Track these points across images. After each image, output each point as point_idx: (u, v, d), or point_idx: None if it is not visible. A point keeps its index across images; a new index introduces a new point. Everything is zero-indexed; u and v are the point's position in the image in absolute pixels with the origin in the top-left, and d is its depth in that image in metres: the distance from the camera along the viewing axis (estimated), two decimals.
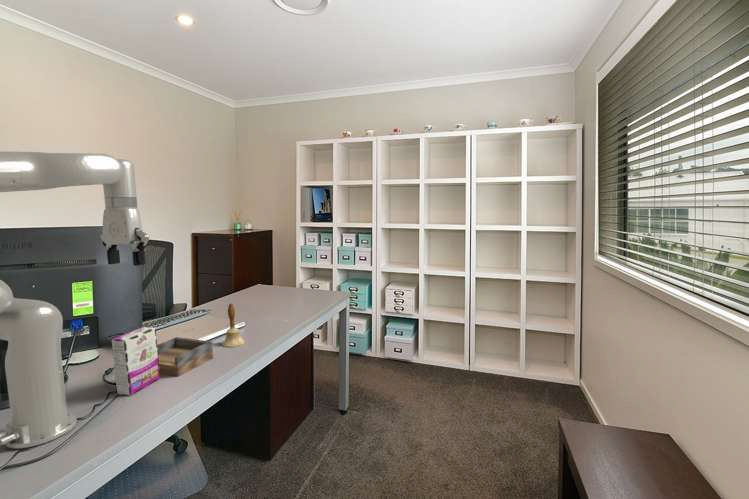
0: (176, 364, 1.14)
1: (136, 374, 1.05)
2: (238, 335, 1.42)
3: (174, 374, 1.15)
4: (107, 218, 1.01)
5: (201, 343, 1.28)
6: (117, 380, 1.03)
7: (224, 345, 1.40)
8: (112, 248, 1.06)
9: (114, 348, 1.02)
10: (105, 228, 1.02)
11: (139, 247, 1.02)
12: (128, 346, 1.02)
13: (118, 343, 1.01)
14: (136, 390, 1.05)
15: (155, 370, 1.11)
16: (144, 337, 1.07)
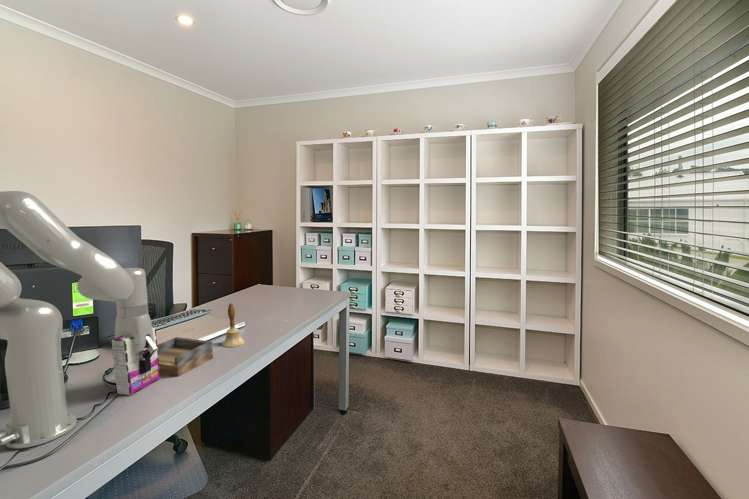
0: (176, 364, 1.14)
1: (136, 374, 1.05)
2: (238, 335, 1.42)
3: (174, 374, 1.15)
4: (119, 325, 1.04)
5: (201, 343, 1.28)
6: (117, 380, 1.03)
7: (224, 345, 1.40)
8: None
9: (114, 348, 1.02)
10: (117, 335, 1.05)
11: (145, 356, 1.05)
12: (128, 346, 1.02)
13: (118, 343, 1.01)
14: (136, 390, 1.05)
15: (155, 370, 1.11)
16: None
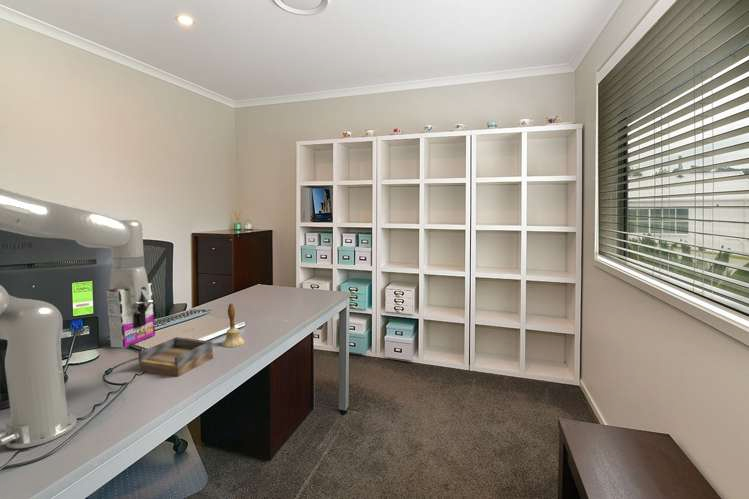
0: (176, 364, 1.14)
1: (131, 327, 1.03)
2: (238, 335, 1.42)
3: (174, 374, 1.15)
4: (114, 277, 1.03)
5: (201, 343, 1.28)
6: (111, 332, 1.01)
7: (224, 345, 1.40)
8: None
9: (108, 299, 1.00)
10: (112, 287, 1.03)
11: (140, 310, 1.03)
12: (123, 297, 1.00)
13: (113, 294, 1.00)
14: (130, 343, 1.03)
15: (150, 326, 1.09)
16: None
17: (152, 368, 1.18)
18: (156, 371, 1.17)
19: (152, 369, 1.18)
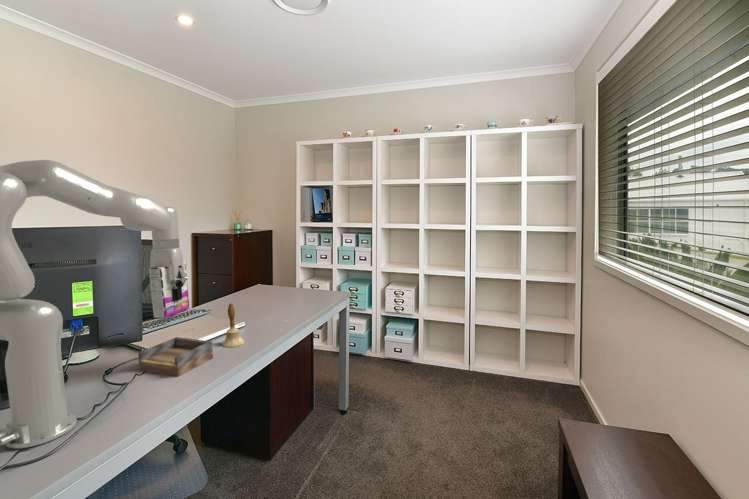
0: (176, 364, 1.14)
1: (170, 300, 1.17)
2: (238, 335, 1.42)
3: (174, 374, 1.15)
4: (154, 257, 1.17)
5: (201, 343, 1.28)
6: (153, 305, 1.16)
7: (224, 345, 1.40)
8: None
9: (150, 275, 1.14)
10: (152, 266, 1.18)
11: (178, 285, 1.18)
12: (163, 274, 1.15)
13: (155, 271, 1.14)
14: (170, 314, 1.17)
15: (185, 300, 1.24)
16: None
17: (152, 368, 1.18)
18: (156, 371, 1.17)
19: (152, 369, 1.18)
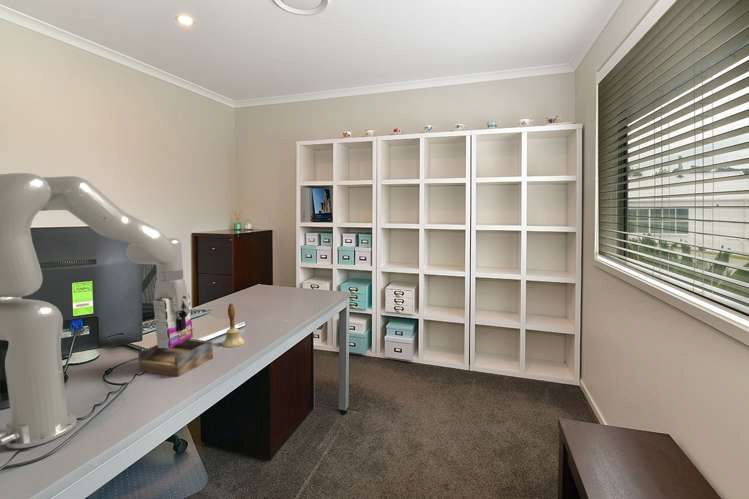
0: (176, 364, 1.14)
1: (174, 331, 1.19)
2: (238, 335, 1.42)
3: (174, 374, 1.15)
4: (159, 288, 1.19)
5: (201, 343, 1.28)
6: (158, 335, 1.18)
7: (224, 345, 1.40)
8: None
9: (155, 307, 1.16)
10: (157, 297, 1.20)
11: (182, 316, 1.20)
12: (167, 305, 1.16)
13: (159, 303, 1.16)
14: (174, 344, 1.19)
15: (188, 329, 1.26)
16: None
17: (152, 368, 1.18)
18: (156, 371, 1.17)
19: (152, 369, 1.18)
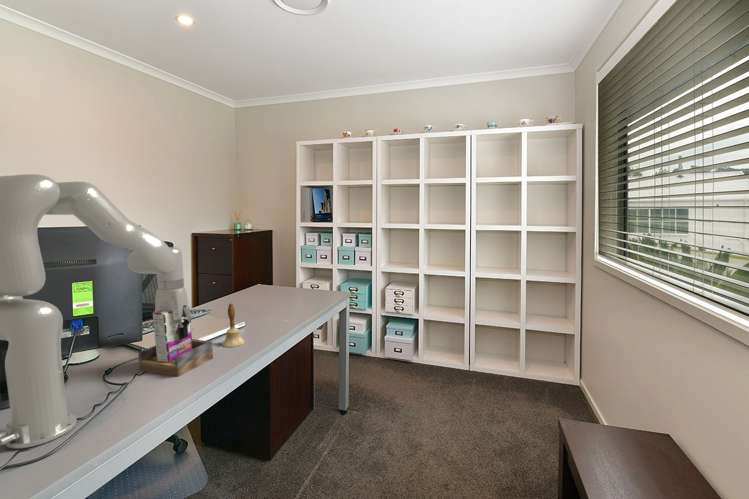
0: (176, 364, 1.14)
1: (173, 344, 1.19)
2: (238, 335, 1.42)
3: (174, 374, 1.15)
4: (159, 297, 1.19)
5: (201, 343, 1.28)
6: (157, 349, 1.18)
7: (224, 345, 1.40)
8: None
9: (154, 320, 1.17)
10: (157, 306, 1.20)
11: (184, 324, 1.20)
12: (167, 319, 1.17)
13: (158, 316, 1.16)
14: (173, 358, 1.19)
15: (188, 342, 1.26)
16: None
17: (152, 368, 1.18)
18: (156, 371, 1.17)
19: (152, 369, 1.18)
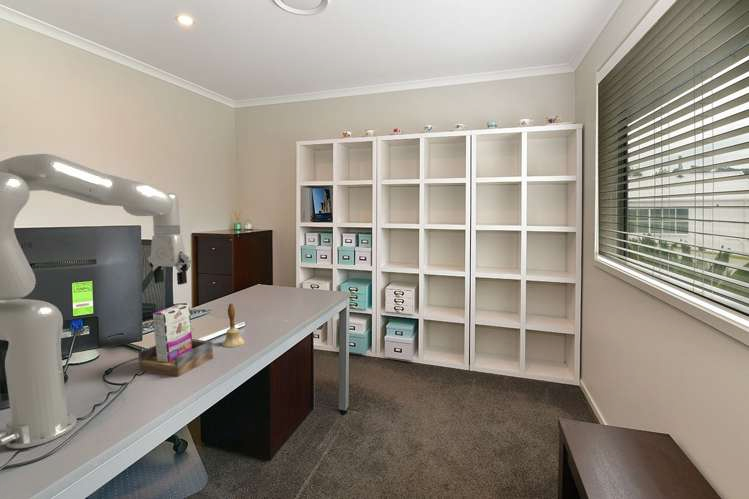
0: (176, 364, 1.14)
1: (173, 344, 1.19)
2: (238, 335, 1.42)
3: (174, 374, 1.15)
4: (155, 243, 1.17)
5: (201, 343, 1.28)
6: (157, 349, 1.18)
7: (224, 345, 1.40)
8: (158, 269, 1.21)
9: (155, 320, 1.17)
10: (153, 252, 1.18)
11: (183, 268, 1.17)
12: (167, 319, 1.17)
13: (159, 316, 1.16)
14: (173, 358, 1.19)
15: (188, 342, 1.26)
16: (180, 312, 1.22)
17: (152, 368, 1.18)
18: (156, 371, 1.17)
19: (152, 369, 1.18)
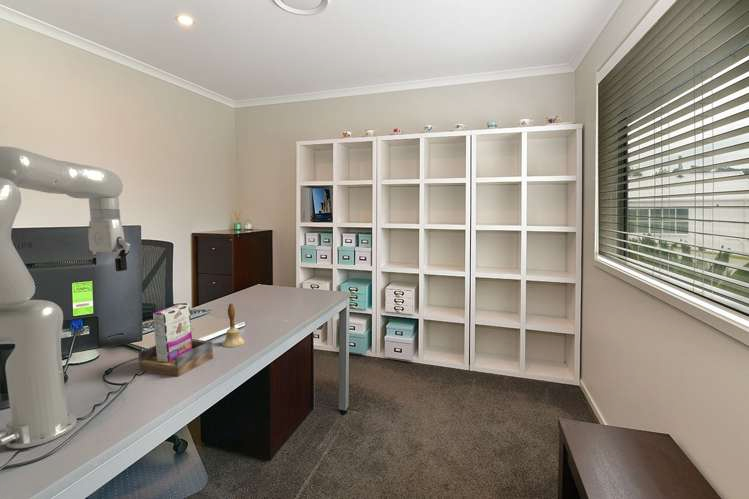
0: (176, 364, 1.14)
1: (173, 344, 1.19)
2: (238, 335, 1.42)
3: (174, 374, 1.15)
4: (92, 228, 1.12)
5: (201, 343, 1.28)
6: (157, 349, 1.18)
7: (224, 345, 1.40)
8: None
9: (155, 320, 1.17)
10: (90, 237, 1.13)
11: (121, 254, 1.12)
12: (167, 319, 1.17)
13: (159, 316, 1.16)
14: (173, 358, 1.19)
15: (188, 342, 1.26)
16: (180, 312, 1.22)
17: (152, 368, 1.18)
18: (156, 371, 1.17)
19: (152, 369, 1.18)
